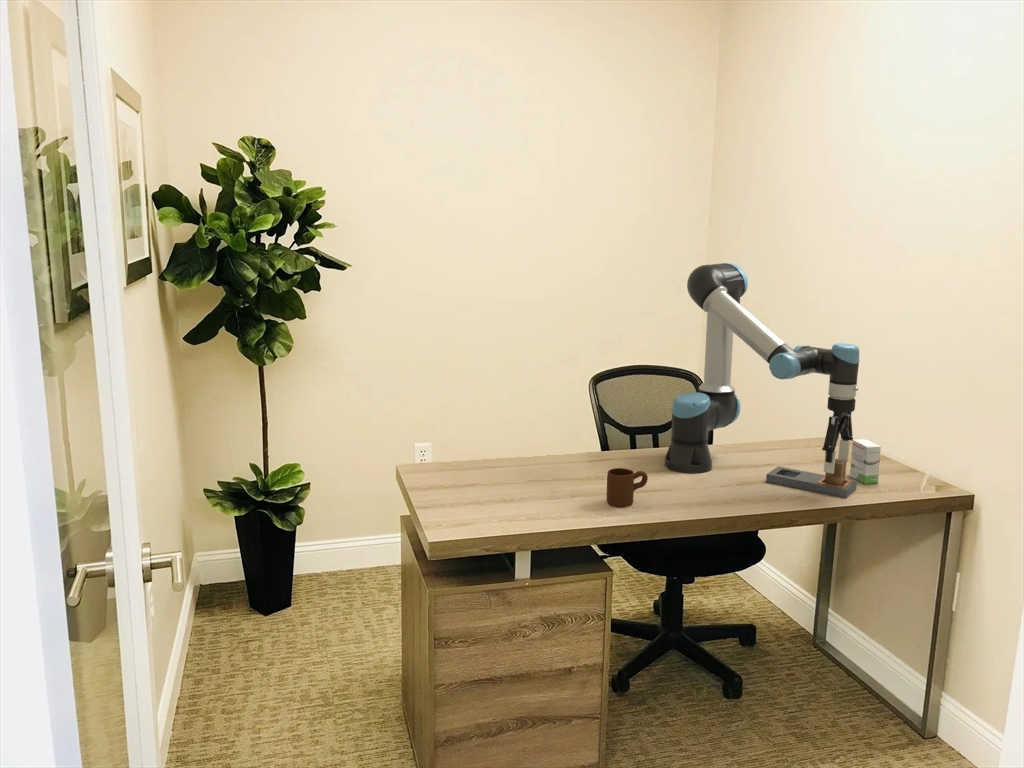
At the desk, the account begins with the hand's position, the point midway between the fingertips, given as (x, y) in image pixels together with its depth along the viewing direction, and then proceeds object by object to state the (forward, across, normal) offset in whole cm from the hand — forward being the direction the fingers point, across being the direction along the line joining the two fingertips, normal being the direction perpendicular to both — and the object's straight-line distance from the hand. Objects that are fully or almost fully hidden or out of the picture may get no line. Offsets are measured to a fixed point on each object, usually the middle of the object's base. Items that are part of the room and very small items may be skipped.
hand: (836, 466), depth 252 cm
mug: (+7, -47, +44) cm, 65 cm away
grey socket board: (+7, 0, +7) cm, 10 cm away
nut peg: (+7, 0, 0) cm, 7 cm away
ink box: (+7, +16, -4) cm, 18 cm away
